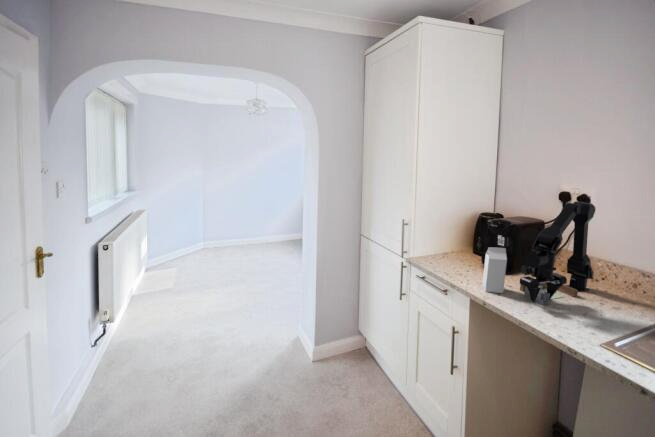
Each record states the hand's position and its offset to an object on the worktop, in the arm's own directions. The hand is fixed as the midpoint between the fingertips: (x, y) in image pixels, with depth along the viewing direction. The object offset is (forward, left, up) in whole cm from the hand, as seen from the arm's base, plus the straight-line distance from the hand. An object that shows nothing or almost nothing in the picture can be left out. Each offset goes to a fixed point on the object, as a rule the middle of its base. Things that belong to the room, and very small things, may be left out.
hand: (540, 300), depth 151 cm
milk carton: (+9, -17, -1) cm, 19 cm away
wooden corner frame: (-10, -6, -1) cm, 12 cm away
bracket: (-1, -2, -1) cm, 3 cm away
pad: (-10, -6, -1) cm, 12 cm away
